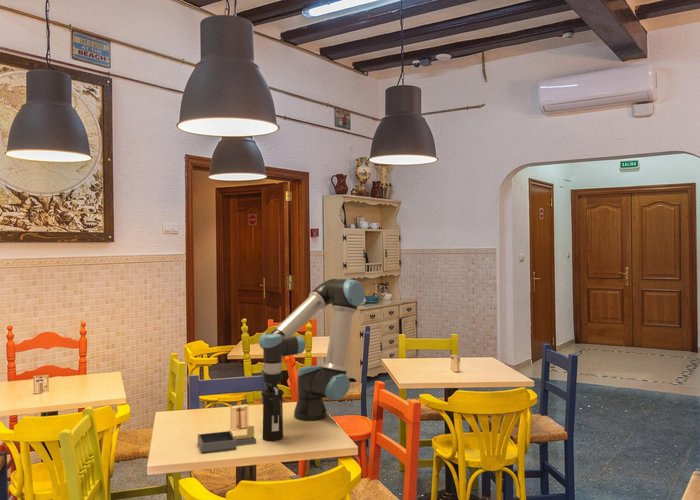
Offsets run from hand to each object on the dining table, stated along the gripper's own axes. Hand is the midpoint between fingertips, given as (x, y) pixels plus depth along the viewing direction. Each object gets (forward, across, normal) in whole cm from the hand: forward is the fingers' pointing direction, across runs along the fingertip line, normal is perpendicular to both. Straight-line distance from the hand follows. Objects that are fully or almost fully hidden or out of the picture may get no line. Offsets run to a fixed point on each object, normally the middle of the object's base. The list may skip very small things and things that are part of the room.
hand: (272, 427), depth 252 cm
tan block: (+3, +2, -12) cm, 13 cm away
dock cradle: (+4, +2, -23) cm, 23 cm away
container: (+4, 0, 0) cm, 4 cm away
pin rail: (+4, +2, -12) cm, 13 cm away
